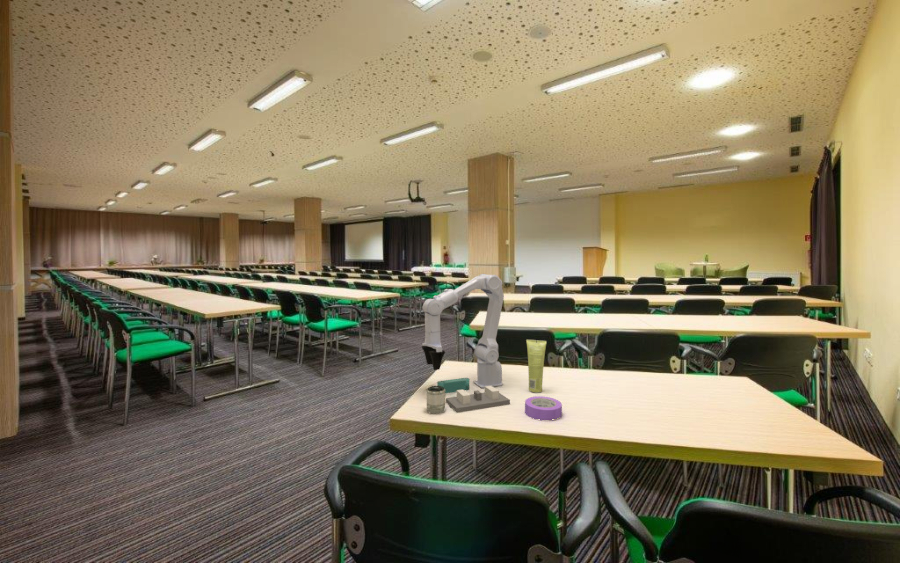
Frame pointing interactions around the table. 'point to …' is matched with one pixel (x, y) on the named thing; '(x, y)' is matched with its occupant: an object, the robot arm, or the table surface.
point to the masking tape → (543, 408)
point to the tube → (535, 364)
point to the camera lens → (435, 399)
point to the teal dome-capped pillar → (454, 384)
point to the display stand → (477, 400)
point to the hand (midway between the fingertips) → (433, 366)
